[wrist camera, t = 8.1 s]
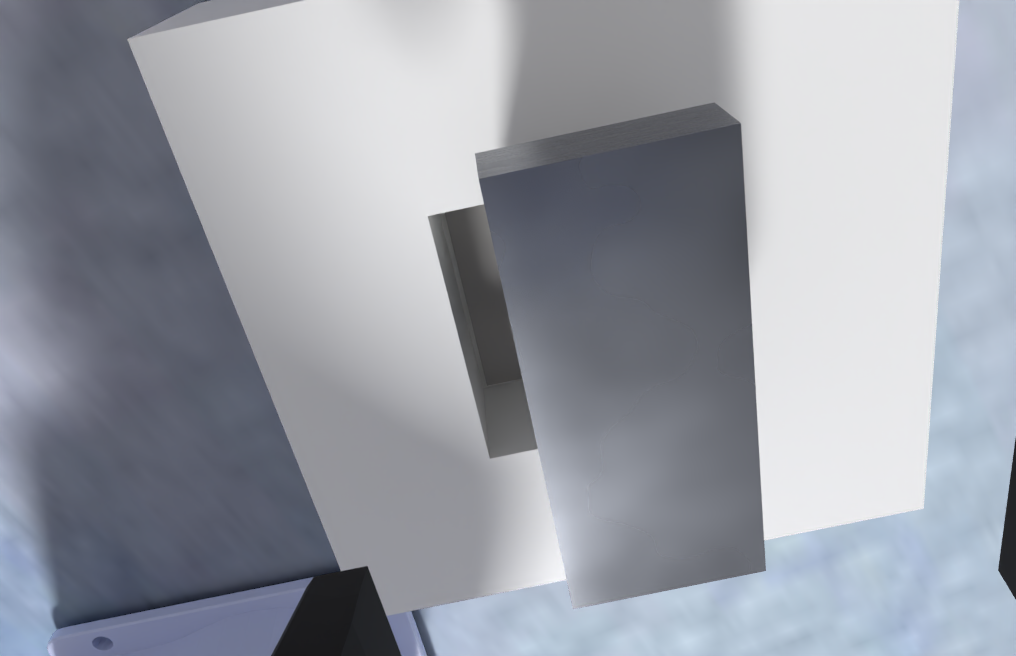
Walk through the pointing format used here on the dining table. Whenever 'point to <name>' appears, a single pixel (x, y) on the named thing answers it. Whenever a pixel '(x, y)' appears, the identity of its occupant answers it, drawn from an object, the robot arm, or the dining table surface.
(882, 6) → the well block
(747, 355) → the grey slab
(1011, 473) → the robot arm
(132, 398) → the dining table surface
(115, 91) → the dining table surface
